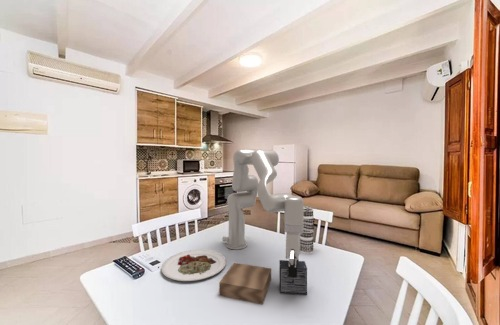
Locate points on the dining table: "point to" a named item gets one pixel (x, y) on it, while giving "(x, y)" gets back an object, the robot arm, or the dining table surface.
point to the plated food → (193, 265)
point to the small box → (293, 278)
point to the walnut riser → (246, 282)
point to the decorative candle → (307, 232)
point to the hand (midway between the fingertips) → (293, 270)
